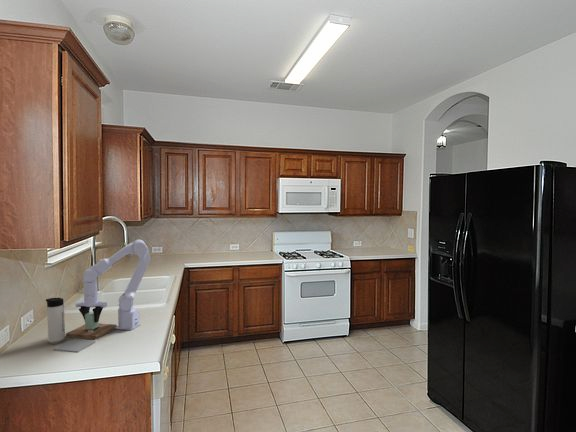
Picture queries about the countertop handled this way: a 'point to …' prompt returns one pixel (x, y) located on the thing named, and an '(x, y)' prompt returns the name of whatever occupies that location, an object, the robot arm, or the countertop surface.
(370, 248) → the countertop surface
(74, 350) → the rubber mat
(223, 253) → the countertop surface
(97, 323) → the green block
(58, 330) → the travel mug
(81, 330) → the pocket tray
